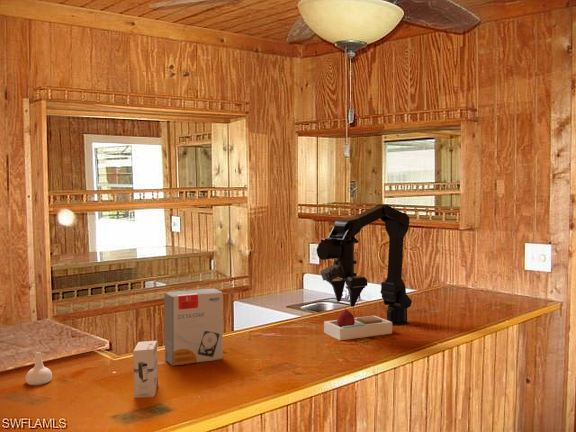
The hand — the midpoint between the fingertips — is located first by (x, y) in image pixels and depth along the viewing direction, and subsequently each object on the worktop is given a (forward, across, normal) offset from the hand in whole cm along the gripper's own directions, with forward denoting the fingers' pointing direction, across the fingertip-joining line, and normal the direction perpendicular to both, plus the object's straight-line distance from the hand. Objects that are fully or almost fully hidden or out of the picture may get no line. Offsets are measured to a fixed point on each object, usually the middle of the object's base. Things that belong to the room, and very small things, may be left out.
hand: (345, 304), depth 203 cm
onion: (+10, 0, 0) cm, 10 cm away
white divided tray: (+10, 0, +5) cm, 11 cm away
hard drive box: (+11, +5, -53) cm, 54 cm away
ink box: (+11, +26, -71) cm, 76 cm away
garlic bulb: (+11, +6, -95) cm, 96 cm away
